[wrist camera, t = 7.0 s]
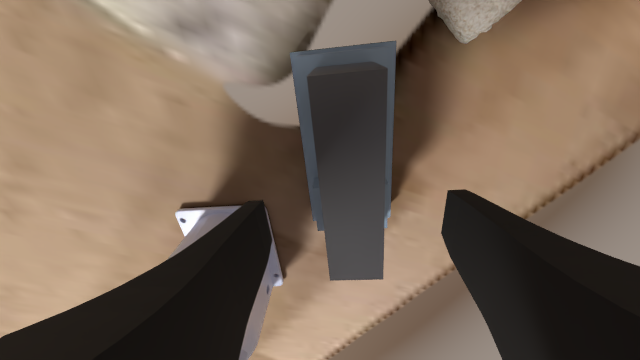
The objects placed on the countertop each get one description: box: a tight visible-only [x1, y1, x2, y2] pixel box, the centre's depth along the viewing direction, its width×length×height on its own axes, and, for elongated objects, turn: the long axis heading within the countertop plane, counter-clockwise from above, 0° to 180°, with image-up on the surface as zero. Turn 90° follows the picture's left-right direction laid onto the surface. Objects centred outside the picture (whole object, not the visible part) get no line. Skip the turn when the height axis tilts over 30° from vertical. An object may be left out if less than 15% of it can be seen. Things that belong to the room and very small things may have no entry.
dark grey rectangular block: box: [307, 61, 388, 280], centre depth 14 cm, size 11×3×4 cm, turn 6°
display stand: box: [290, 41, 396, 231], centre depth 16 cm, size 12×6×5 cm, turn 6°
